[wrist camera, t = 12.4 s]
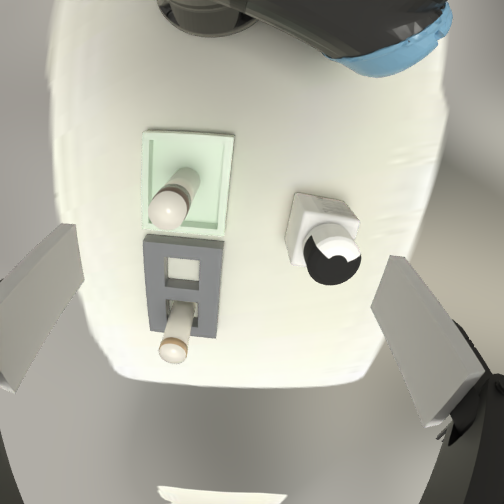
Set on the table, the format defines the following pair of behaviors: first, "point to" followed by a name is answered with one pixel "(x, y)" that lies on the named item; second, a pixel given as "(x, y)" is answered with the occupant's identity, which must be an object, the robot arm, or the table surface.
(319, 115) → the table surface
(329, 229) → the container
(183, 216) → the fuse
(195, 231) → the parts tray
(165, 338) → the cylinder
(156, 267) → the fuse block
